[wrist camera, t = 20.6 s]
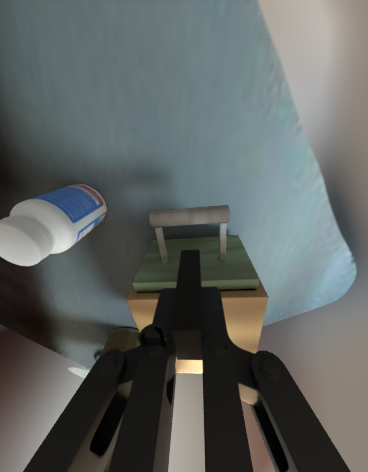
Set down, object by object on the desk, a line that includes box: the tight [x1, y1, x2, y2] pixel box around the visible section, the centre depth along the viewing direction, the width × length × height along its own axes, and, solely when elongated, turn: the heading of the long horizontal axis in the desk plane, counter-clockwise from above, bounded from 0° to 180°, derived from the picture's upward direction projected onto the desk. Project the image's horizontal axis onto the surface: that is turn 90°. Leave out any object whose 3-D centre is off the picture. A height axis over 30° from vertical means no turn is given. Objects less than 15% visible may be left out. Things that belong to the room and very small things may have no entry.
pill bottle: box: [0, 184, 107, 266], centre depth 16 cm, size 6×5×10 cm
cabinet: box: [126, 244, 268, 374], centre depth 22 cm, size 15×13×10 cm
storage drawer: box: [132, 205, 259, 293], centre depth 19 cm, size 19×11×8 cm, turn 6°
